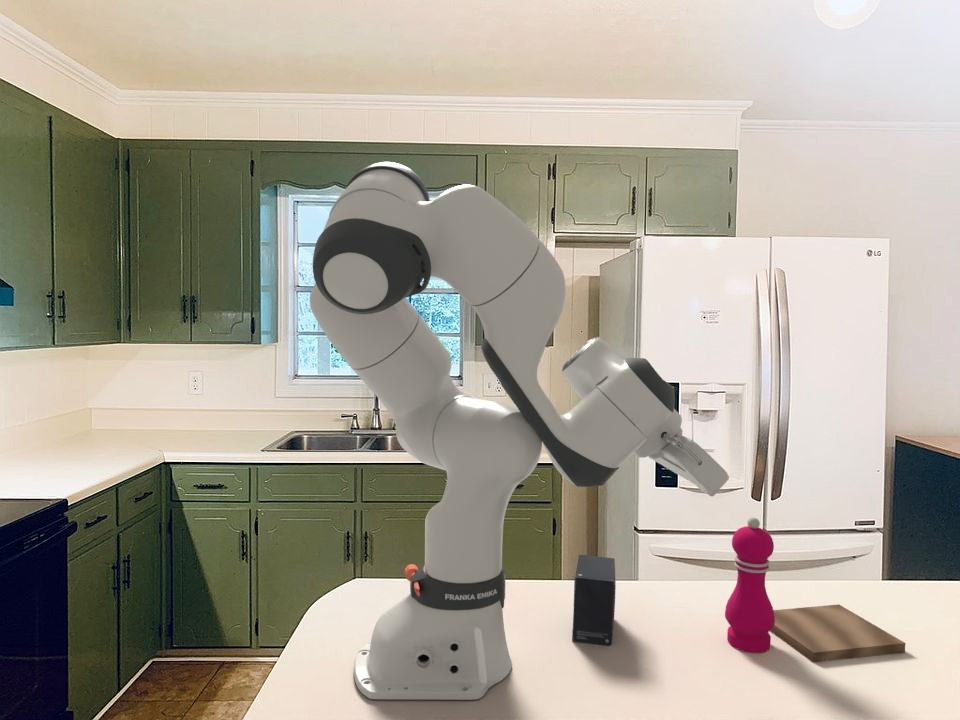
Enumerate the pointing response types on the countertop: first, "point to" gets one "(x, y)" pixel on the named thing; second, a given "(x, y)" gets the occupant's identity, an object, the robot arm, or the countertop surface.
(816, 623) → the walnut board
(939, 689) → the countertop surface
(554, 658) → the countertop surface
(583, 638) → the small box
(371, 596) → the countertop surface
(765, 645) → the pepper mill
